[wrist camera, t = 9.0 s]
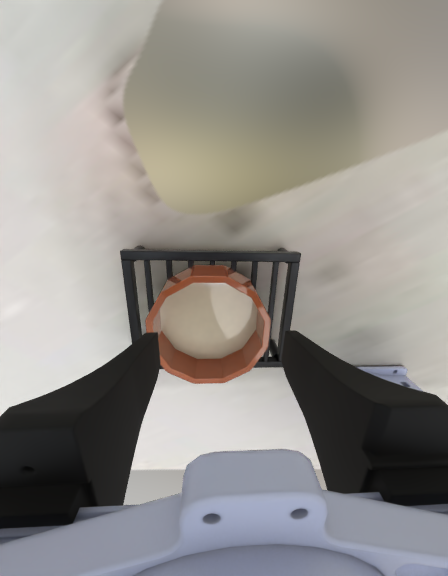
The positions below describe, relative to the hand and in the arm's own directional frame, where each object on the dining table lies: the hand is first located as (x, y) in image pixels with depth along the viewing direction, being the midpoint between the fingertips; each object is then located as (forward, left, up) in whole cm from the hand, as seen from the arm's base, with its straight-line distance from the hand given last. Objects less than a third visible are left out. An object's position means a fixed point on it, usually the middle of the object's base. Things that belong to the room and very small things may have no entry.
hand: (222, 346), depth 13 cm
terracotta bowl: (+1, +1, -7) cm, 7 cm away
